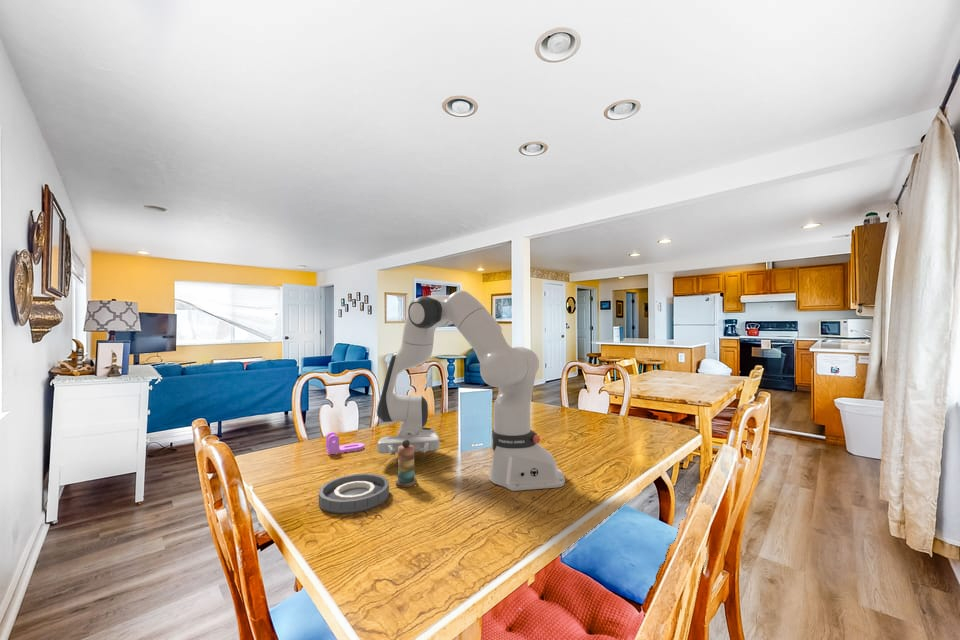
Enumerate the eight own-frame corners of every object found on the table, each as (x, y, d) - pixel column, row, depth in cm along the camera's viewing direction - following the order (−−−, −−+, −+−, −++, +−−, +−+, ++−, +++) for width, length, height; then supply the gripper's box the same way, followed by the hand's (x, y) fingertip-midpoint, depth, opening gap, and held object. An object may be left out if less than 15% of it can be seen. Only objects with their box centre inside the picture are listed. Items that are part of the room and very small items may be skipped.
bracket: (328, 455, 140) (328, 436, 140) (326, 451, 145) (326, 432, 145) (365, 449, 146) (365, 431, 146) (362, 445, 151) (362, 427, 151)
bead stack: (418, 480, 118) (418, 436, 118) (414, 488, 112) (414, 443, 112) (398, 479, 118) (398, 436, 118) (393, 488, 112) (393, 443, 112)
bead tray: (396, 484, 115) (396, 473, 115) (377, 514, 97) (377, 502, 97) (335, 483, 116) (335, 473, 116) (305, 513, 98) (305, 501, 98)
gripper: (379, 431, 136) (373, 443, 123) (438, 428, 139) (439, 439, 125) (379, 449, 136) (374, 463, 123) (438, 446, 139) (440, 459, 125)
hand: (407, 451), depth 124 cm, fingers open, 8 cm apart
